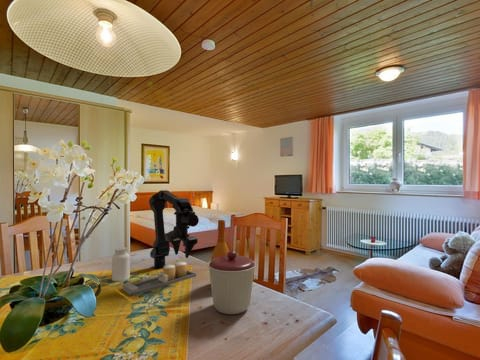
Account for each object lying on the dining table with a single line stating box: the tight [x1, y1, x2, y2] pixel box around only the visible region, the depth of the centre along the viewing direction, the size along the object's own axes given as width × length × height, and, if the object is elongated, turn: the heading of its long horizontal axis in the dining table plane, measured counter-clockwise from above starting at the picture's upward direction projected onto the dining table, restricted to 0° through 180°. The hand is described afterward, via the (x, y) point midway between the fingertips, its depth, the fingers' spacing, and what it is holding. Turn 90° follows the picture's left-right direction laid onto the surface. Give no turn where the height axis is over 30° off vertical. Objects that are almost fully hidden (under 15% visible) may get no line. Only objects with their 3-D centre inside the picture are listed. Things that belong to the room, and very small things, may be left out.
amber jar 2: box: [175, 261, 188, 279], centre depth 129 cm, size 6×6×7 cm
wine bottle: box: [210, 219, 230, 261], centre depth 118 cm, size 10×10×30 cm
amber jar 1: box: [162, 264, 175, 281], centre depth 124 cm, size 6×6×7 cm
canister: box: [207, 250, 257, 315], centre depth 98 cm, size 18×18×21 cm
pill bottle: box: [111, 246, 131, 282], centre depth 126 cm, size 8×8×15 cm
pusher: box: [140, 271, 168, 283], centre depth 118 cm, size 7×11×4 cm, turn 136°
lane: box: [122, 269, 197, 297], centre depth 121 cm, size 9×32×3 cm, turn 136°
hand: (181, 256), depth 129 cm, fingers open, 9 cm apart
